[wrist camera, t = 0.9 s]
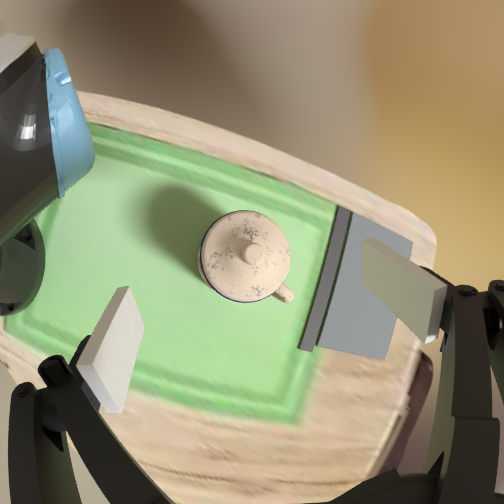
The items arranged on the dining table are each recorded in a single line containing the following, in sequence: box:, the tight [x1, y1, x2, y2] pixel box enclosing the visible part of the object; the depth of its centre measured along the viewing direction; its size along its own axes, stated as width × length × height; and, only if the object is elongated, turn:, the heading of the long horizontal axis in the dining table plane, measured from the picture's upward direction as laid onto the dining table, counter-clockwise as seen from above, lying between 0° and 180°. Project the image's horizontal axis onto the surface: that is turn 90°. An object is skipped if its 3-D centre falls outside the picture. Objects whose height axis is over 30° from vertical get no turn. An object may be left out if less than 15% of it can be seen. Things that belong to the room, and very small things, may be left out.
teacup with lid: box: [197, 210, 294, 303], centre depth 32 cm, size 12×9×12 cm
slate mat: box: [317, 212, 413, 360], centre depth 42 cm, size 13×20×1 cm, turn 162°
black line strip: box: [299, 206, 350, 352], centre depth 40 cm, size 2×21×1 cm, turn 162°
